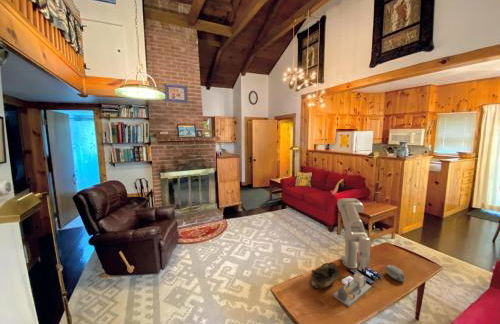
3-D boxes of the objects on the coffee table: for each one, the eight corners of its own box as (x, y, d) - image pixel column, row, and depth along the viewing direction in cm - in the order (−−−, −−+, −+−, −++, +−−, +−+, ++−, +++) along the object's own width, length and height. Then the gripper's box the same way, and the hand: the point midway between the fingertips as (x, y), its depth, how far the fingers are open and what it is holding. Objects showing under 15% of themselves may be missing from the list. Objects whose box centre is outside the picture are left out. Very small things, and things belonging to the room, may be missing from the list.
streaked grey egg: (410, 278, 156) (403, 267, 157) (401, 286, 155) (394, 274, 155) (395, 271, 170) (389, 261, 170) (387, 278, 168) (380, 267, 169)
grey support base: (333, 296, 146) (333, 286, 145) (355, 279, 162) (355, 270, 161) (349, 307, 136) (349, 297, 135) (371, 288, 152) (371, 278, 151)
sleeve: (353, 284, 154) (353, 274, 153) (357, 281, 157) (357, 272, 156) (360, 288, 150) (360, 278, 149) (363, 285, 152) (363, 275, 152)
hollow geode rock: (336, 282, 166) (326, 262, 175) (346, 278, 157) (335, 258, 166) (309, 293, 155) (301, 271, 163) (318, 290, 146) (309, 268, 154)
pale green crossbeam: (341, 294, 143) (341, 291, 142) (360, 279, 157) (360, 277, 157) (344, 296, 141) (344, 293, 140) (363, 281, 155) (363, 278, 155)
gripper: (364, 247, 161) (363, 268, 163) (353, 253, 153) (353, 276, 155) (374, 251, 155) (373, 273, 157) (364, 258, 147) (363, 281, 149)
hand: (363, 275), depth 156 cm, fingers closed
